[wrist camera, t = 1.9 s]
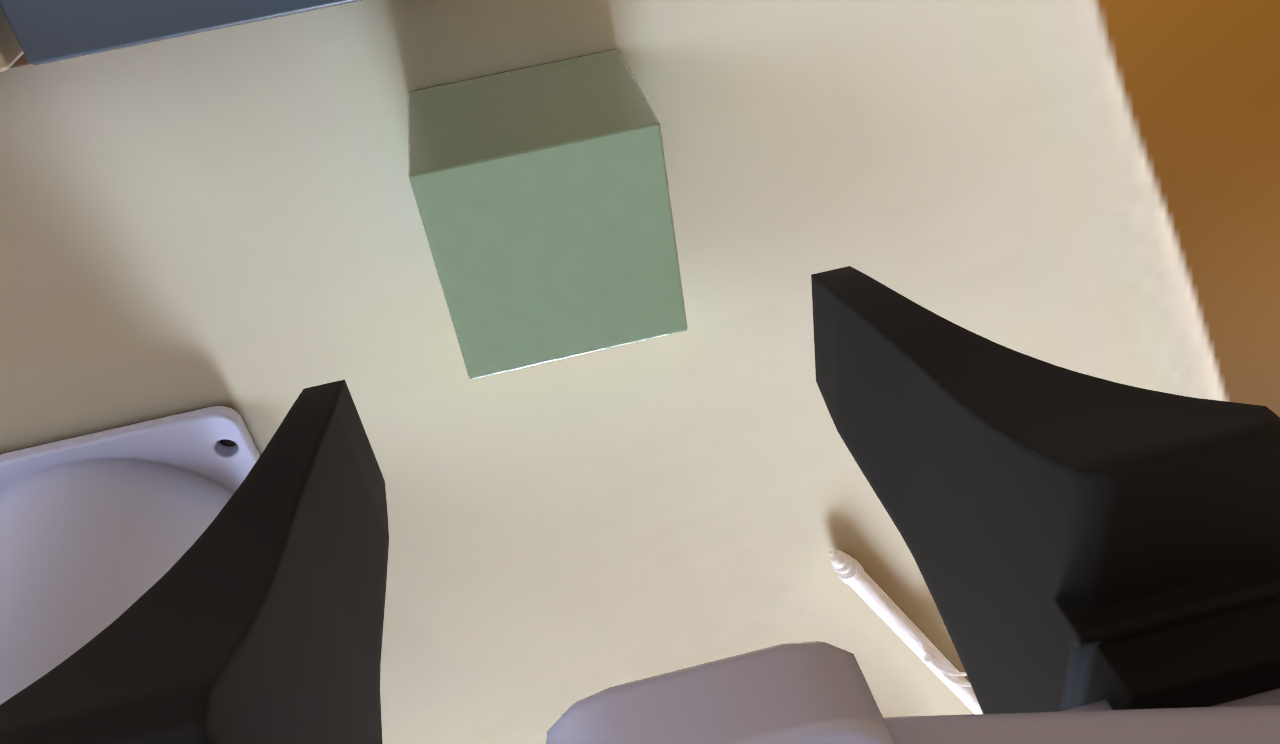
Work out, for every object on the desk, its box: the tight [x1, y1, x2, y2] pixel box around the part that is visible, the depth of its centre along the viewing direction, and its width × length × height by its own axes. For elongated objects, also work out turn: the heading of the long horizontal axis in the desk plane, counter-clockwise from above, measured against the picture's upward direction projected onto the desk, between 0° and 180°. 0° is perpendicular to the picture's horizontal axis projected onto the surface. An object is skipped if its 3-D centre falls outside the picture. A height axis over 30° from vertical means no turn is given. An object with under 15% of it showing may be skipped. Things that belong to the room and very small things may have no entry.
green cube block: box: [408, 49, 687, 379], centre depth 20 cm, size 4×4×4 cm
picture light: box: [829, 549, 983, 714], centre depth 33 cm, size 14×4×2 cm, turn 36°
